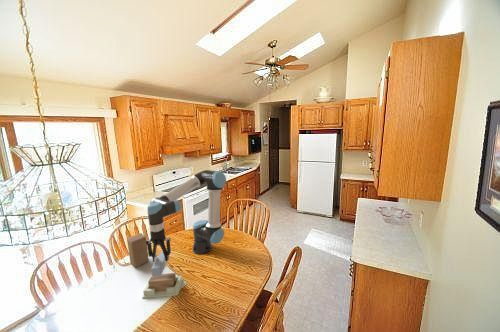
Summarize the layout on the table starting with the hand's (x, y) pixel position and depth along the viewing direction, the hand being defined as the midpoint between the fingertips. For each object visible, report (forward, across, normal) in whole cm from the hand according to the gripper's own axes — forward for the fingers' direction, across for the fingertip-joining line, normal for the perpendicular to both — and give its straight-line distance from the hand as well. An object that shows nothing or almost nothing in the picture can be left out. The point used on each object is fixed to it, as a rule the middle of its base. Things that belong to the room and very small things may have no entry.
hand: (161, 265), depth 124 cm
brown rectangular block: (+14, 0, 0) cm, 14 cm away
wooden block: (+16, -27, +29) cm, 43 cm away
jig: (+15, 0, 0) cm, 15 cm away
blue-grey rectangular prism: (+1, 0, 0) cm, 1 cm away
